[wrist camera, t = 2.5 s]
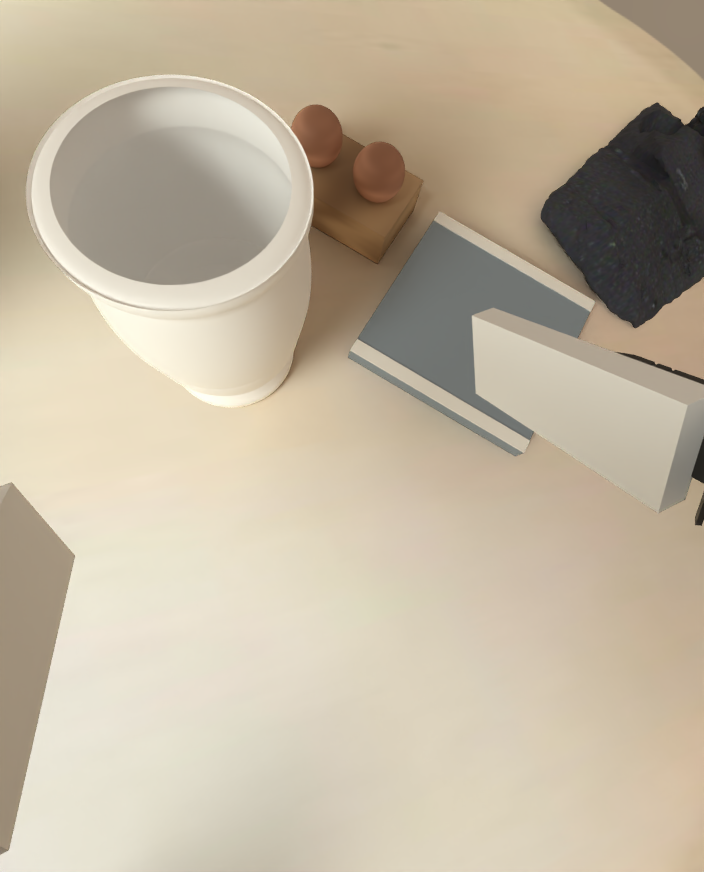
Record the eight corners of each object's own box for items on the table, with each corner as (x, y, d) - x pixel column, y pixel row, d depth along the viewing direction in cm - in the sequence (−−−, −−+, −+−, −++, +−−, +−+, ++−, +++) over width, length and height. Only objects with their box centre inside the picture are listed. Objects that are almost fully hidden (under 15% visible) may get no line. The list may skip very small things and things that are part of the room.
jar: (284, 441, 29) (269, 344, 15) (133, 400, 29) (-34, 258, 14) (324, 307, 32) (345, 115, 18) (187, 267, 32) (93, 36, 17)
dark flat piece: (502, 210, 37) (530, 163, 32) (658, 105, 42) (702, 51, 37) (627, 345, 35) (676, 315, 30) (774, 218, 40) (835, 176, 36)
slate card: (348, 357, 31) (349, 349, 30) (434, 222, 35) (439, 210, 34) (515, 456, 31) (524, 452, 30) (585, 310, 35) (595, 301, 33)
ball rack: (267, 199, 34) (259, 122, 28) (307, 149, 35) (309, 66, 29) (377, 263, 34) (395, 201, 27) (413, 210, 35) (437, 139, 29)
